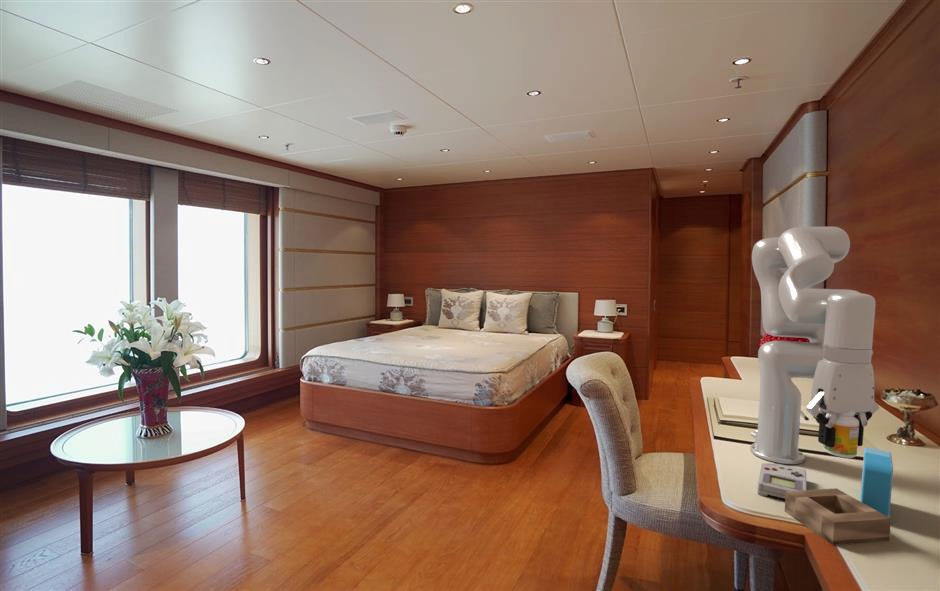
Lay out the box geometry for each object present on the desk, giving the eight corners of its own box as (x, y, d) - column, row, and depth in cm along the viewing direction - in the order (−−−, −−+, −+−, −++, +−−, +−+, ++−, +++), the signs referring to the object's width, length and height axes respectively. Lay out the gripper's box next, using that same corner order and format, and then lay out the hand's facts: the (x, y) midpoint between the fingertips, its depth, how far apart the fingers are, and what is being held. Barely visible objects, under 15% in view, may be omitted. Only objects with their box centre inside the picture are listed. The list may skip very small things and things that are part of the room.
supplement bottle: (816, 449, 99) (819, 402, 98) (835, 446, 100) (838, 400, 99) (843, 460, 93) (847, 411, 93) (863, 456, 95) (867, 408, 94)
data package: (860, 495, 110) (864, 444, 109) (886, 502, 108) (890, 450, 106) (860, 517, 101) (864, 462, 100) (888, 525, 98) (893, 468, 97)
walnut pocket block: (784, 511, 103) (785, 491, 103) (835, 508, 105) (836, 488, 104) (832, 544, 91) (834, 522, 91) (889, 540, 93) (890, 518, 92)
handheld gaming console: (806, 468, 117) (807, 493, 105) (805, 481, 118) (806, 508, 105) (762, 458, 122) (757, 481, 110) (761, 472, 123) (757, 496, 110)
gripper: (867, 350, 100) (861, 435, 101) (792, 352, 98) (786, 438, 99) (904, 358, 92) (896, 449, 94) (823, 360, 90) (816, 453, 92)
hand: (839, 443), depth 97 cm, fingers closed on supplement bottle, 5 cm apart
